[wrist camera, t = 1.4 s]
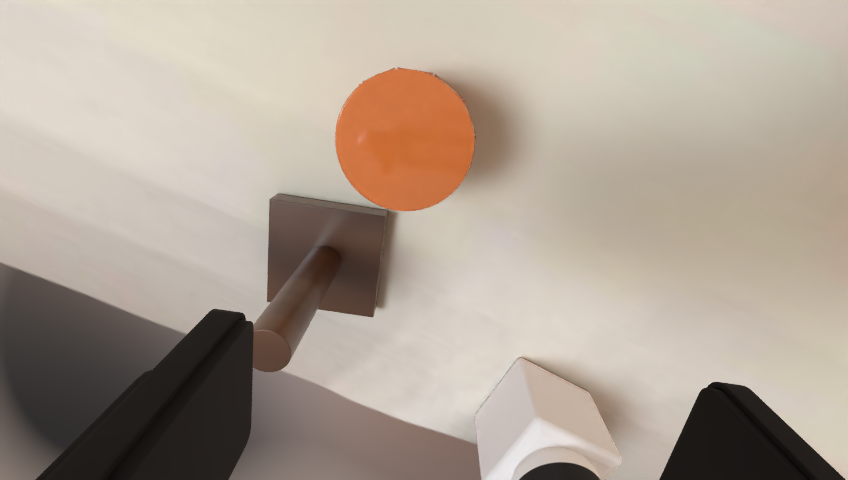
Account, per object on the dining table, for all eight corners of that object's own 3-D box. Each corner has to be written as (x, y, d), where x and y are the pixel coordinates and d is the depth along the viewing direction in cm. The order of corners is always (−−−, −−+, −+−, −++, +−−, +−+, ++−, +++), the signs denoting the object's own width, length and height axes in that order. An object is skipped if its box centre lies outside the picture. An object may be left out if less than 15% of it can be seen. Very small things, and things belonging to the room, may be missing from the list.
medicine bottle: (472, 415, 37) (487, 560, 26) (518, 354, 35) (557, 485, 23) (541, 448, 38) (585, 602, 27) (590, 391, 36) (661, 533, 24)
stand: (277, 193, 31) (177, 262, 19) (388, 210, 31) (357, 288, 19) (274, 292, 33) (184, 406, 22) (376, 307, 34) (342, 428, 22)
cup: (368, 65, 28) (340, 57, 20) (472, 82, 28) (487, 81, 20) (358, 169, 30) (329, 200, 22) (454, 184, 30) (461, 220, 22)
